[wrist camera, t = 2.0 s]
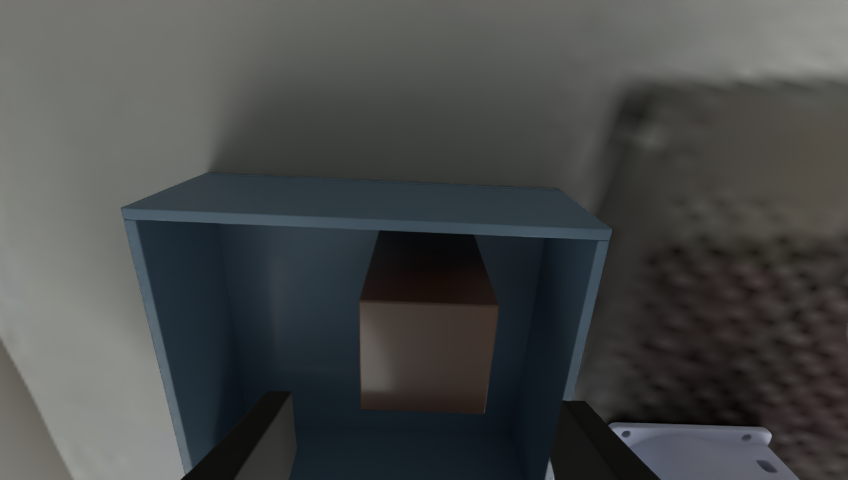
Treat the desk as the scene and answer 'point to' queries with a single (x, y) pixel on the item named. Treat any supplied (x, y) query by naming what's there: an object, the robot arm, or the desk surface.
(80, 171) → the desk surface
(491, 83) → the desk surface
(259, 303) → the carton
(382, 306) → the walnut block
